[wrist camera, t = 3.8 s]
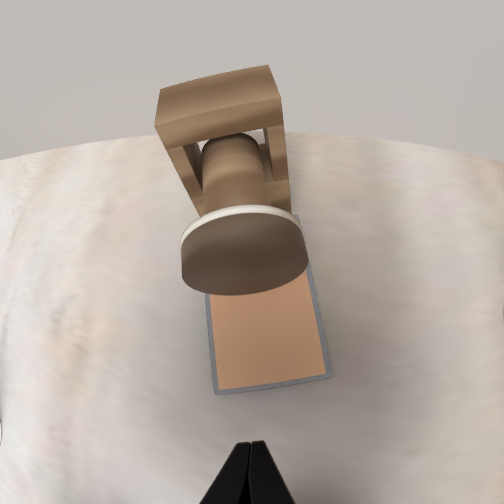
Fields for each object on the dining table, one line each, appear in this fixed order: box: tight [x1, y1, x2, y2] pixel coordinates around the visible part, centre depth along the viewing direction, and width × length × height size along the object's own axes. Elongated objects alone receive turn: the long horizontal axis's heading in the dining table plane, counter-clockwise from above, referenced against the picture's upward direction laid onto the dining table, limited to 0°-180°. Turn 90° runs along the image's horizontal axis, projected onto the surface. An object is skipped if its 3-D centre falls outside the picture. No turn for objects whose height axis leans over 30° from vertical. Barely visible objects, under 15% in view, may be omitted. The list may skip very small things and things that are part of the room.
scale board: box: [205, 215, 332, 395], centre depth 23 cm, size 13×8×1 cm, turn 7°
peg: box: [180, 133, 309, 296], centre depth 18 cm, size 8×6×6 cm
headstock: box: [154, 65, 291, 217], centre depth 22 cm, size 4×7×12 cm, turn 98°
